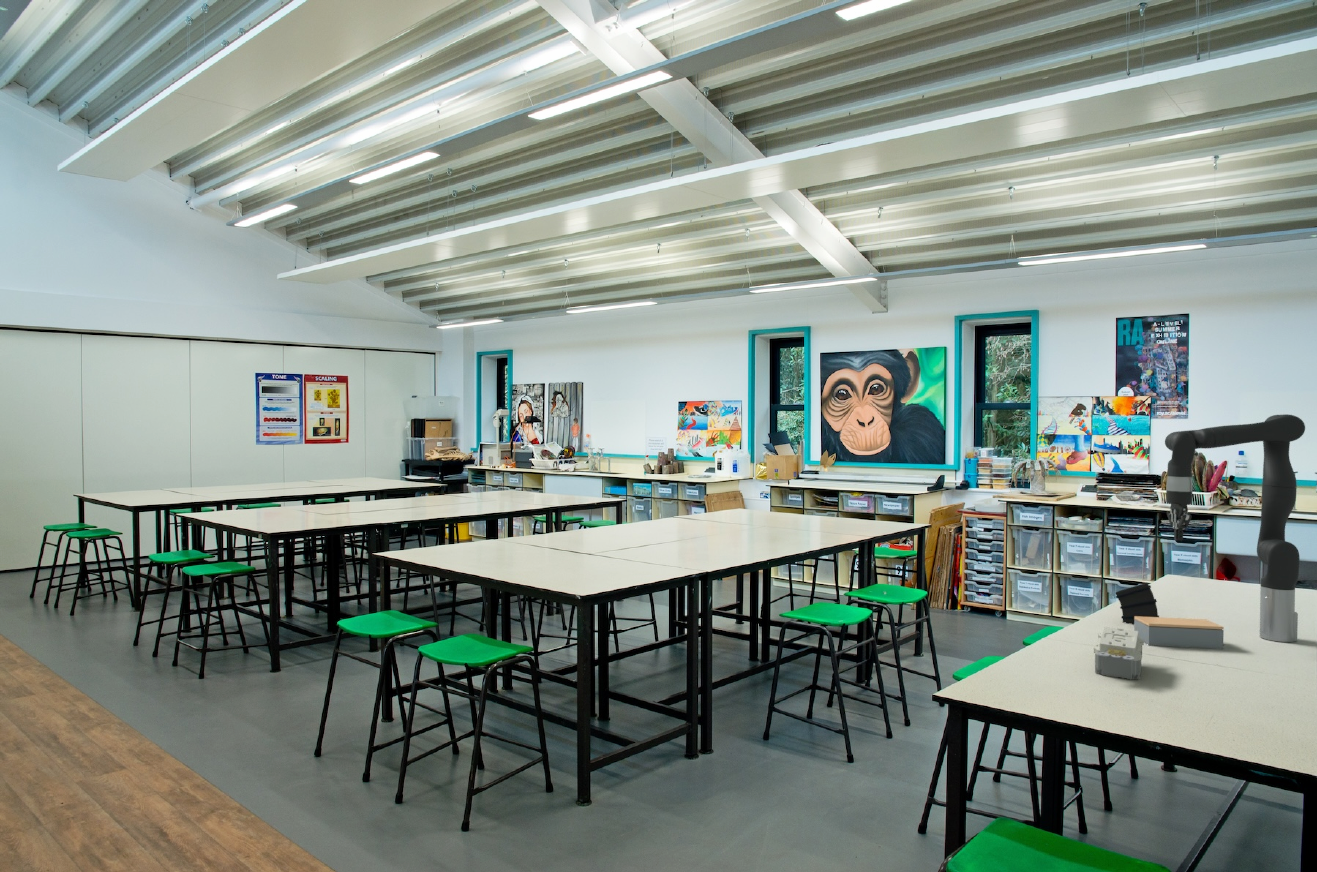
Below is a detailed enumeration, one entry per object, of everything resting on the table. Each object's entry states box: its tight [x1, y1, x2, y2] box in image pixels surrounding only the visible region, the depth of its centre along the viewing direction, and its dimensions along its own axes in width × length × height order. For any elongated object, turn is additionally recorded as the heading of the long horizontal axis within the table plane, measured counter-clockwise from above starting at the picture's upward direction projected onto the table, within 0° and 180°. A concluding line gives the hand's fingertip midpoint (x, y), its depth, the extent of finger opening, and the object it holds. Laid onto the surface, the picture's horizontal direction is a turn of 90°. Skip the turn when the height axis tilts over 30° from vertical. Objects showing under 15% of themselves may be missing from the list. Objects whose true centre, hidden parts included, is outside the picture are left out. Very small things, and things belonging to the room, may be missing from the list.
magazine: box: [1115, 582, 1160, 625], centre depth 291 cm, size 4×13×15 cm, turn 52°
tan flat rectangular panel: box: [1134, 616, 1225, 630], centre depth 265 cm, size 22×11×1 cm, turn 81°
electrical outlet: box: [1093, 626, 1145, 680], centre depth 234 cm, size 12×28×10 cm, turn 147°
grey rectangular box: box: [1133, 619, 1225, 650], centre depth 265 cm, size 22×11×6 cm, turn 81°
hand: (1178, 540), depth 278 cm, fingers closed
